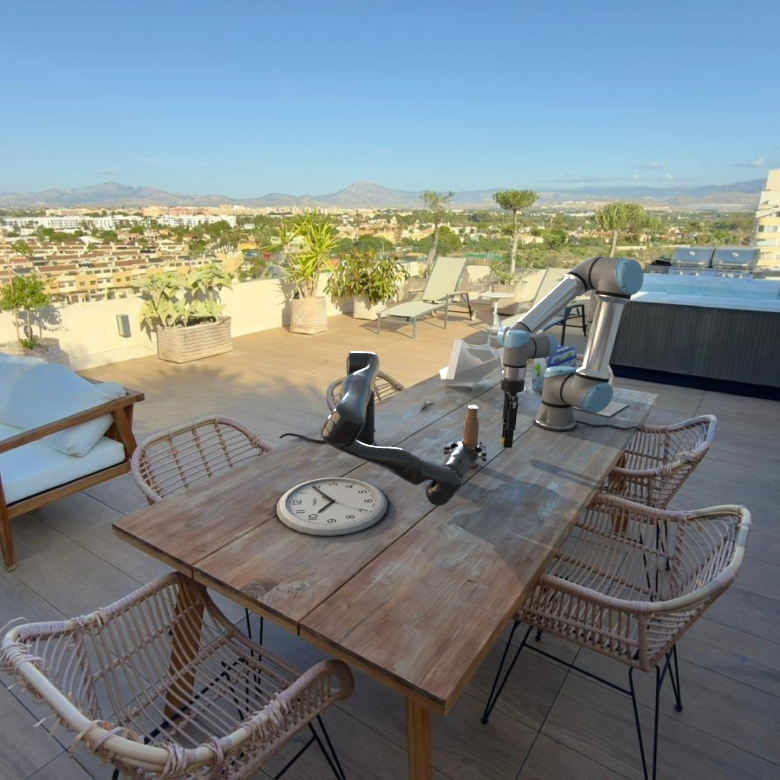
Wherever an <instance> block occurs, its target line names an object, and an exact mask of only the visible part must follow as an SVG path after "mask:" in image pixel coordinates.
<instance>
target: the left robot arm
mask: <svg viewBox="0 0 780 780" xmlns="http://www.w3.org/2000/svg"><path fill="white" fill-rule="evenodd" d="M345 361H346V362H345V367H346V377H345V378H344V379H343V381H342V383H341V386H340V387H339V392H338V398H339V401H338V403H337V404H335V406H334V407H333V409H332V410H331V411H330V413H329V415H328V416H327V418H326V419H325V421H324V423H323V424H322V426H321V428H320V436H321V438H322V439H314V438H309V437H308V436H305V435H303V434H298V433H292V432H286V433H285V432H284V433H283V434H281V435H280V436H279V437H278V439H283V438H284V437H287V436H289V437H296V438H301V439H304V440H306V441H308V442H313V443H318V444H324V443H325V444H328V445H329V446H331V447H332V448H333V449H336V450H338V451H340V452H342V453H345V454H348V455H350V456H352V457H354V458H357V459H360V460H362V461H365V462H367V463H370V464H373V465H375V466H378V467H380V468H382V469H384V470H386V471H388V472H390V473H392V474H394V475H396V477H399V478H401V479H403V480H404V481H405V482H407V483H409V484H411V485H413V486H419V485H421V484H422V483H424V482H426V481H430V482H429V483H428V484H427V485H426V488H425V496H426V499H427V500H428V502H429V503H430V504H431V505H433V506H436V507H443V506H446V505H447V504H448V503H449V502H451V500H452V498H454V496H456V494H457V492H458V491H460V490H461V488H462V485H463V481H464V479H465V477H466V476H467V475H468V474H469V472H470V471H471V469H472V468H473V467H472V465H473V463H474V461H475V460H476V461H477V460H478V459H480V460H481V461H483V462H487V457H488V452H487V446H485V445H484V444H483V441H482V440H478V443H477V445H476V446H474V445H473V446H471V447H468V448H467V447H465V446H463V438H461V439H460V440H458V441H457V442H456V441H455V440H452V441H450V442H449V443H447V444H445V445H444V446H443V455H447V457H446V458H445V460H444V462H443V464H442V465H440V464H438V463H437V464H436V463H433V462H429V461H426V460H424V459H423V458H421V457H419V456H417V455H415V454H414V453H413V452H411V451H408V450H407V449H405V448H401V447H395V446H379V445H378V446H377V445H375V443H376V442H375V433H376V428H375V418H376V417H375V414H376V413H375V411H376V410H375V408H376V406H375V405H376V404H375V399H376V398H375V397H376V395H375V394H376V392H375V390H374V389H373V388H374V384H375V382H376V380H377V377H378V375H379V371H380V366H381V365H380V362H381V361H380V358H379V356H378V354H377V353H375V352H373V351H349V352H348V354H347V355H346V359H345Z"/></svg>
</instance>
